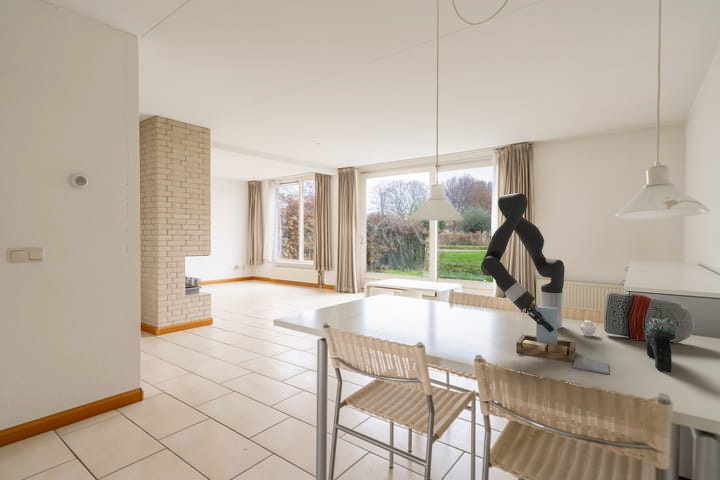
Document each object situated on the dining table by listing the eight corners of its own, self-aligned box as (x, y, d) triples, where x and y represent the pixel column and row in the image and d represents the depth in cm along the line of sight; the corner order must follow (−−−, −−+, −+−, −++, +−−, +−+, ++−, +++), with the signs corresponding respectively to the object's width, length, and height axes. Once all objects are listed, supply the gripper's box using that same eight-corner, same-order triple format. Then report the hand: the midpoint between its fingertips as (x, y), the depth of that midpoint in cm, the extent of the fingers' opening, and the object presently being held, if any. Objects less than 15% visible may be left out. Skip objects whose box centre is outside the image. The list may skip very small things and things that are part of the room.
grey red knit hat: (608, 292, 155) (699, 304, 141) (606, 290, 161) (693, 301, 147) (603, 335, 156) (692, 351, 142) (601, 331, 162) (687, 346, 148)
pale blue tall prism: (536, 349, 140) (536, 307, 140) (537, 347, 143) (537, 305, 143) (556, 353, 136) (556, 309, 136) (557, 350, 139) (557, 307, 139)
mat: (574, 359, 129) (574, 357, 129) (608, 364, 124) (608, 363, 124) (573, 368, 121) (573, 366, 121) (608, 374, 116) (608, 372, 116)
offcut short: (548, 356, 133) (548, 346, 133) (549, 353, 136) (549, 343, 136) (566, 360, 129) (566, 349, 129) (567, 357, 132) (567, 346, 132)
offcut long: (522, 352, 138) (522, 342, 138) (525, 349, 141) (525, 339, 141) (544, 356, 133) (544, 346, 133) (547, 354, 136) (547, 343, 136)
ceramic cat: (676, 375, 115) (677, 313, 115) (651, 371, 118) (652, 311, 118) (661, 356, 132) (661, 302, 132) (639, 353, 135) (640, 301, 135)
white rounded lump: (599, 337, 156) (599, 321, 156) (585, 337, 156) (585, 321, 156) (590, 333, 162) (590, 318, 162) (577, 333, 162) (577, 318, 162)
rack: (516, 352, 137) (516, 342, 137) (522, 343, 148) (522, 334, 148) (573, 362, 127) (573, 351, 127) (575, 352, 137) (575, 341, 137)
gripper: (523, 292, 137) (558, 328, 131) (529, 287, 149) (562, 320, 143) (508, 304, 141) (542, 339, 134) (515, 298, 152) (547, 331, 146)
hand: (552, 329), depth 138 cm, fingers closed on pale blue tall prism, 3 cm apart
